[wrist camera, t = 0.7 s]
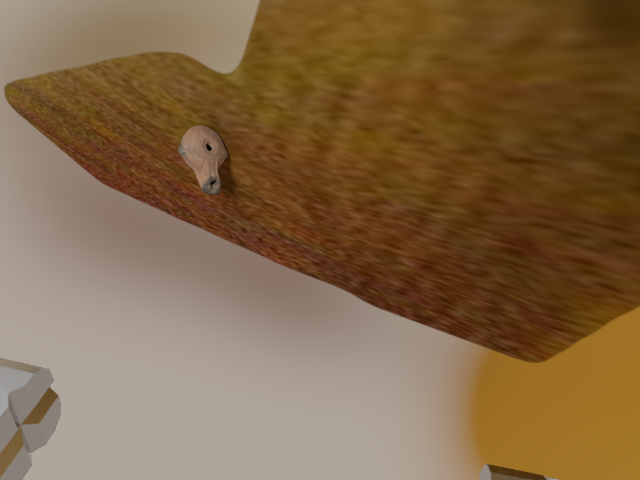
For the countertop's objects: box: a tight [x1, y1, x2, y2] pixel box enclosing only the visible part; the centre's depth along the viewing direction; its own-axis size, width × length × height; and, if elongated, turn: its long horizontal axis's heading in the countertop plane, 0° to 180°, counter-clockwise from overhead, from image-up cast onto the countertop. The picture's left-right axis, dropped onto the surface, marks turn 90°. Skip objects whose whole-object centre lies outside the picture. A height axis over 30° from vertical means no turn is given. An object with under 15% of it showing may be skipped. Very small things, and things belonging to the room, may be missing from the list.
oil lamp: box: [178, 125, 228, 194], centre depth 77 cm, size 9×4×8 cm, turn 46°
